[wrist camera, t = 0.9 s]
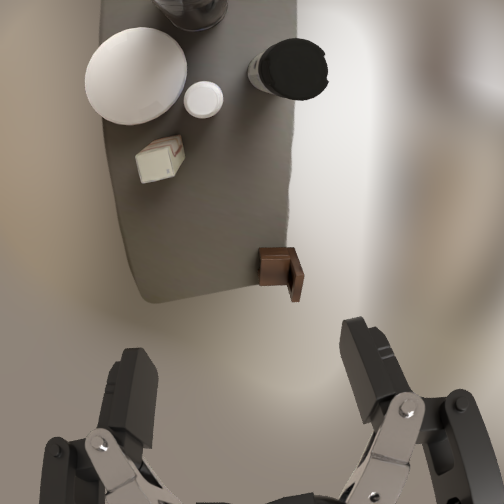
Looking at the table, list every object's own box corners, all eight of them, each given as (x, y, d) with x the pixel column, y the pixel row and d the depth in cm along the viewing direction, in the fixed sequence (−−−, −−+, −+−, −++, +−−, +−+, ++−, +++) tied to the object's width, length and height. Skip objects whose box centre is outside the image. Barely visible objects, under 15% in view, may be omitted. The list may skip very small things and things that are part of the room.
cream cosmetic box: (180, 133, 44) (169, 146, 35) (185, 158, 46) (176, 177, 38) (150, 139, 44) (133, 155, 35) (156, 164, 46) (141, 184, 38)
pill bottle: (196, 118, 43) (189, 128, 34) (183, 89, 40) (173, 91, 31) (228, 106, 42) (229, 112, 34) (216, 76, 39) (214, 74, 31)
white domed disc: (162, 5, 27) (163, 16, 33) (62, 62, 27) (77, 64, 33) (205, 95, 36) (201, 94, 42) (108, 148, 36) (116, 139, 42)
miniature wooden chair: (259, 247, 57) (264, 276, 50) (294, 247, 58) (304, 275, 50) (257, 273, 61) (262, 303, 53) (290, 272, 61) (299, 302, 54)
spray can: (286, 51, 37) (328, 35, 21) (291, 90, 41) (335, 99, 25) (244, 56, 38) (258, 38, 21) (250, 95, 41) (268, 104, 25)
